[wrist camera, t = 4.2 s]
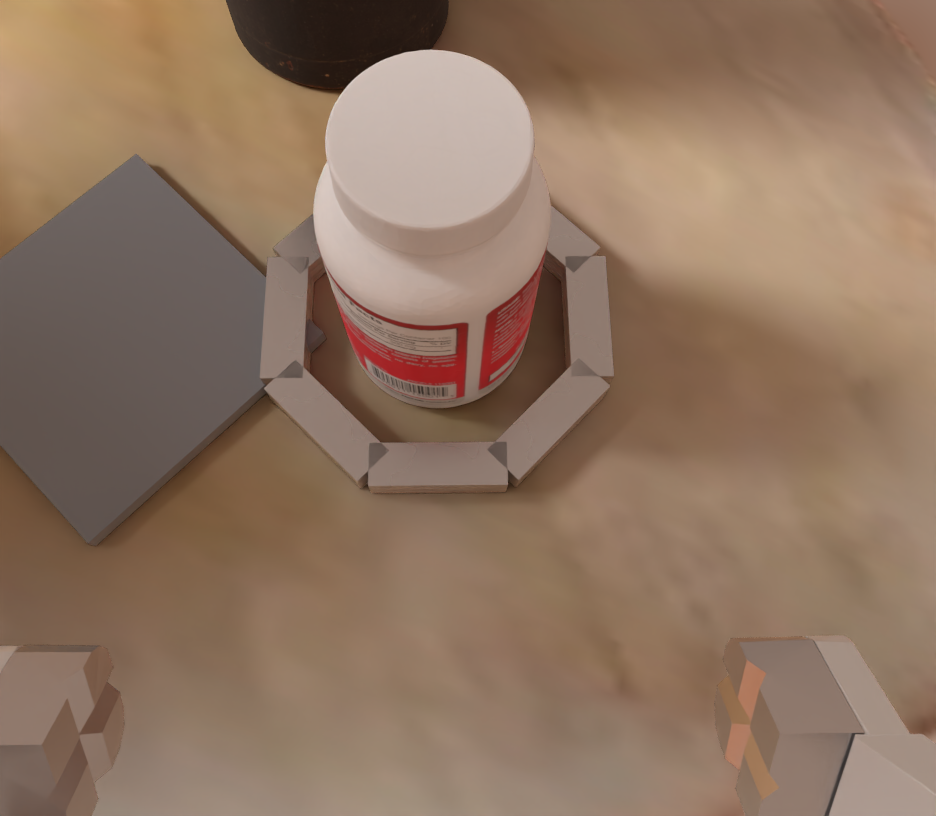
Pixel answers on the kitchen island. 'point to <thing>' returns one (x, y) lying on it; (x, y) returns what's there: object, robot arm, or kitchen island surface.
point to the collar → (438, 461)
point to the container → (334, 35)
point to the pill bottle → (433, 224)
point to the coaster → (124, 346)
